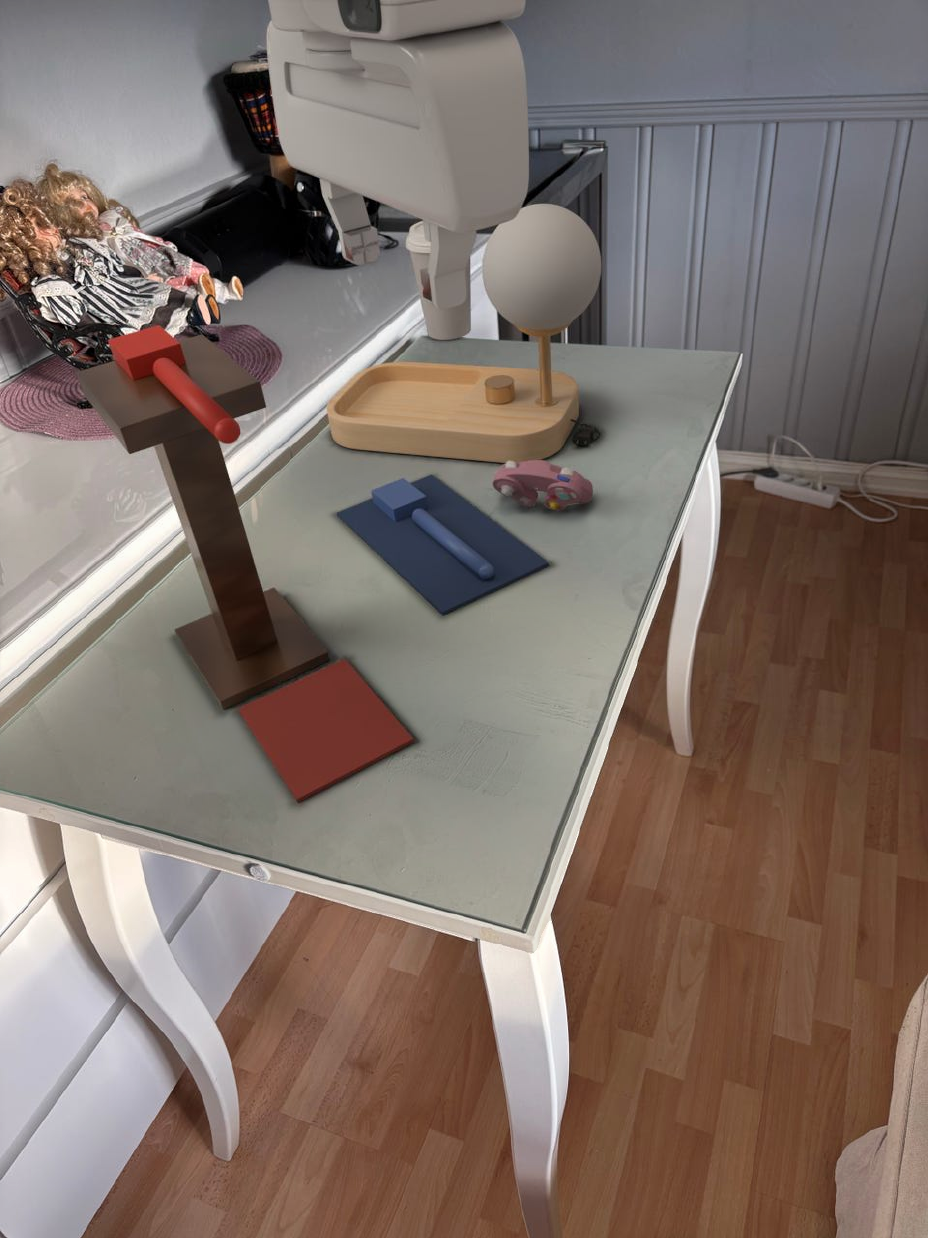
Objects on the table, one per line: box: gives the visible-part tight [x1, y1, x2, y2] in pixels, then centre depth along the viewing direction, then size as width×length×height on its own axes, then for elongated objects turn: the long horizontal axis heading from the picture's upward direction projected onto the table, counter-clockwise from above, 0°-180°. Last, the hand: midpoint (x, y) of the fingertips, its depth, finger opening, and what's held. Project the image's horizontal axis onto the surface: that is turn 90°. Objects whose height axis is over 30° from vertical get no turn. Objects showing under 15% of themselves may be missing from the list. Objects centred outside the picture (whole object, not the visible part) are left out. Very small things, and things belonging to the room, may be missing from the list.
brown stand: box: [75, 334, 331, 710], centre depth 74 cm, size 10×12×26 cm
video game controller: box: [492, 459, 594, 512], centre depth 94 cm, size 10×5×7 cm, turn 68°
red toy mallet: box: [107, 324, 241, 445], centre depth 62 cm, size 20×4×2 cm, turn 33°
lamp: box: [326, 203, 602, 464], centre depth 104 cm, size 33×17×25 cm, turn 71°
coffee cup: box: [405, 220, 472, 341], centre depth 130 cm, size 10×10×15 cm
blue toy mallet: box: [370, 477, 494, 579], centre depth 92 cm, size 20×4×2 cm, turn 33°
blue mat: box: [336, 474, 550, 616], centre depth 92 cm, size 12×22×1 cm, turn 33°
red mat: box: [237, 658, 415, 803], centre depth 73 cm, size 10×12×1 cm
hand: (401, 281), depth 50 cm, fingers open, 8 cm apart
